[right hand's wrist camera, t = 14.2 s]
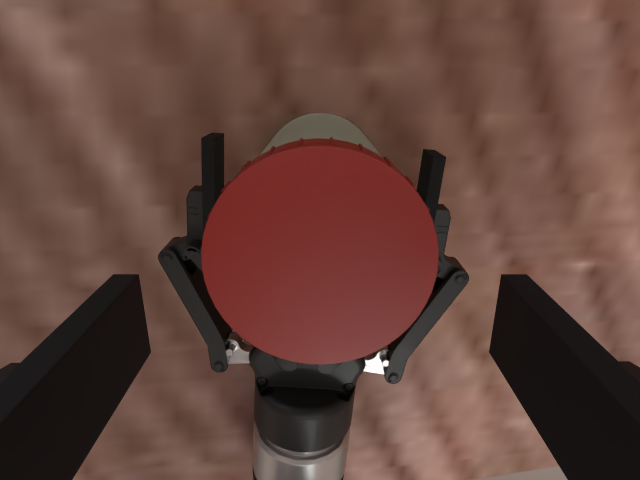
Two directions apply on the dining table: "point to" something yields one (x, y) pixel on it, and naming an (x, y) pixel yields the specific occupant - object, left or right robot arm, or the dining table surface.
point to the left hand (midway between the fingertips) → (324, 143)
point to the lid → (319, 252)
